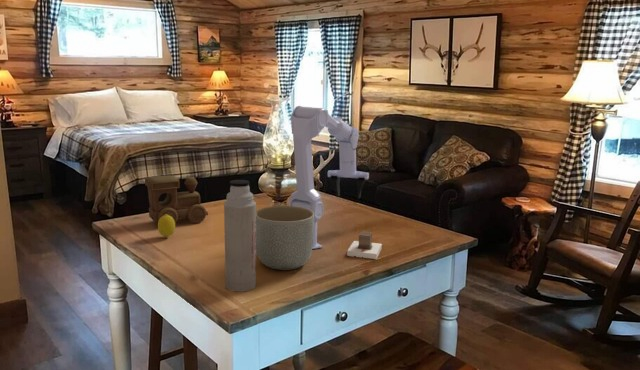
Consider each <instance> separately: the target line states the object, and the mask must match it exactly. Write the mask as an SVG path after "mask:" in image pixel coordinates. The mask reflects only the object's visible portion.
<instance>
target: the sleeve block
mask: <svg viewBox="0 0 640 370" xmlns="http://www.w3.org/2000/svg"><path fill="white" fill-rule="evenodd" d="M358 246H359V240H353V242H352V243H351V244H350V246H349V247H348V249H347V252H346V253H347V254H346V255H347V256H349V257H354V256H356V257H355V258H362V257H363V258H365V259H373V260H377V259H378V257H379V255H380V253H381V251H382V248H383V247H382V246H383V244H382V243H377V242H372V249H371V250H365V249H358Z"/></svg>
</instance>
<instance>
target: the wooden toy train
mask: <svg viewBox="0 0 640 370" xmlns="http://www.w3.org/2000/svg"><path fill="white" fill-rule="evenodd" d="M183 183H184V185H185V187H186V189H187V191H180V192H178V189H180V188H181V187H180V186H181V185H180V179H179V178H178V177H176V176H175V175H170V174H169V175H154V176H146V177H144V185H145V187H146V188H147V194H148V195H147V196H148V203H149V207H148V217H149V218H150V219H151V220H153V222H154V223H157V222H158V221H159V219H160V218H161V217H162V216H164V215H165V214H167V215H169V216H171V217H172V218H173V219H174V221H175V224H176V223H177V222H178V220H180V219H188V221H189V222H191V223H192V224H199V223H202V222H203V221H204V220H205V219H206V216H208V215H209V212H208V211H207V209H206V208H205V206H204V205H203V204H201V195H200V193H199V192H198V191H195V190H196V187H197V185H198V181H197V179H196V178H195V176H187V178H186V179H185V181H184V182H183ZM162 194H166V197H165V199H164V200H163V201H159V198H160V197H161V195H162Z"/></svg>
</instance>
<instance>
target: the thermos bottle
mask: <svg viewBox="0 0 640 370" xmlns="http://www.w3.org/2000/svg"><path fill="white" fill-rule="evenodd" d="M229 186H230V187H229V192H228V193H227V194H226V201H224V204H223V209H224V210H223V214H224V217H223V218H224V220H223V221H224V223H223V224H224V229H223V230H224V255H225V256H224V272H225V273H224V281H225V282H224V283H225V285H224V286H225V288H226V289H227V290H228V291H229V290H230V291H233V292H249V291H251V290H253V289H255V288H256V286H257V252H256V211H257V202H256V201H254V198H255V196H254V193H252V192H251V190H250V181H249V180H246V179H234V180H230V181H229Z"/></svg>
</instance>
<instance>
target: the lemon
mask: <svg viewBox="0 0 640 370" xmlns="http://www.w3.org/2000/svg"><path fill="white" fill-rule="evenodd" d="M157 231H158V233H159V234H160V235H161V236H163V237H165V238H169V237H170V236H172V235H173V234H174V233H175V231H176V223H175V221H174V219H173V218H172V217H171V216H169V215H167V214H165V215H164V216H162V217H161V218H160V219H159V221H158V223H157Z"/></svg>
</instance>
